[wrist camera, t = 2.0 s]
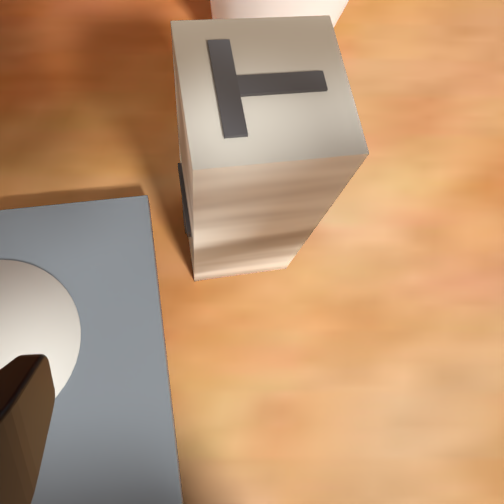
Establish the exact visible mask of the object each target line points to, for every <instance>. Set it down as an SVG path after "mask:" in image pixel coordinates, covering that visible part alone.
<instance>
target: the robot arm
mask: <svg viewBox="0 0 504 504" xmlns="http://www.w3.org/2000/svg"><path fill="white" fill-rule="evenodd" d="M54 403H55V388H54V384H53V379H52V374H51V369H50V364H49V360H48V358H47V356H45V355H44V354H27V355H20V356H18V357H16V358H15V359H13V360H12V361H11V362H9V363H8V364H7V365H5V366H4V367H3V368H1V369H0V504H31V502H32V499H33V496H34V492H35V488H36V484H37V480H38V476H39V471H40V467H41V462H42V458H43V453H44V449H45V444H46V440H47V435H48V431H49V426H50V422H51V417H52V413H53V408H54Z"/></svg>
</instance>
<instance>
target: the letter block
mask: <svg viewBox="0 0 504 504" xmlns="http://www.w3.org/2000/svg"><path fill="white" fill-rule="evenodd" d="M171 34H172V49H173V64H174V78H175V93H176V108H177V122H178V137H179V152H180V163H178V171H179V179H180V186H181V193H182V204H183V218H184V227H185V234H187V237H188V239H189V246H190V253H191V261H192V268H193V275H194V281H199V280H206V279H213V278H221V277H228V276H235V275H242V274H250V273H257V272H264V271H271V270H279V269H286V268H287V266H288V265H289V263H290V262H291V261H292V259H293V258H294V257H295V255H296V254H297V252H298V251H299V250H300V248H301V247H302V246H303V244H304V243H305V241H306V240H307V239H308V237H309V236H310V235H311V233H312V232H313V230H314V229H315V228H316V226H317V225H318V223H319V222H320V221H321V219H322V218H323V217H324V215H325V214H326V212H327V211H328V210H329V208H330V207H331V206H332V204H333V203H334V201H335V200H336V199H337V197H338V196H339V195H340V193H341V192H342V190H343V189H344V188H345V186H346V185H347V183H348V182H349V181H350V179H351V178H352V177H353V175H354V174H355V172H356V171H357V170H358V168H359V167H360V166H361V164H362V163H363V161H364V160H365V159H366V157H367V156H368V155H369V151H368V148H367V144H366V141H365V137H364V134H363V130H362V127H361V123H360V120H359V116H358V113H357V109H356V105H355V102H354V98H353V95H352V91H351V88H350V84H349V81H348V77H347V74H346V70H345V67H344V63H343V60H342V56H341V53H340V49H339V46H338V42H337V39H336V35H335V32H334V28H333V25H332V21H331V18H330V15H323V16H294V17H266V18H237V19H209V20H180V21H171Z"/></svg>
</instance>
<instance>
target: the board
mask: <svg viewBox="0 0 504 504" xmlns="http://www.w3.org/2000/svg"><path fill="white" fill-rule="evenodd" d="M27 354H44V355H45V356H47V358H48V360H49V364H50V369H51V374H52V379H53V384H54V388H55V403H54V408H53V413H52V417H51V422H50V426H49V431H48V435H47V440H46V444H45V449H44V453H43V458H42V462H41V467H40V471H39V476H38V480H37V484H36V488H35V492H34V496H33V499H32V502H31V504H183V496H182V487H181V478H180V470H179V461H178V452H177V443H176V434H175V425H174V417H173V408H172V399H171V390H170V381H169V372H168V364H167V355H166V346H165V337H164V328H163V319H162V311H161V302H160V293H159V284H158V275H157V266H156V258H155V249H154V240H153V231H152V222H151V213H150V205H149V200H148V196H147V195H145V196H135V197H125V198H115V199H106V200H96V201H86V202H76V203H66V204H57V205H47V206H37V207H27V208H17V209H8V210H0V369H1V368H3V367H4V366H5V365H7V364H8V363H9V362H11V361H12V360H13V359H15V358H16V357H18V356H20V355H27Z"/></svg>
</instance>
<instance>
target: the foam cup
mask: <svg viewBox="0 0 504 504" xmlns="http://www.w3.org/2000/svg"><path fill="white" fill-rule="evenodd" d="M348 1H349V0H210V3H211V12H212V19H237V18H266V17H294V16H323V15H330V18H331V21H332V25H333V28H334V26H335V24H336V22H337V21H338V19H339V17H340V15H341V14H342V12H343V10H344V8H345V6H346V5H347V3H348Z"/></svg>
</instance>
